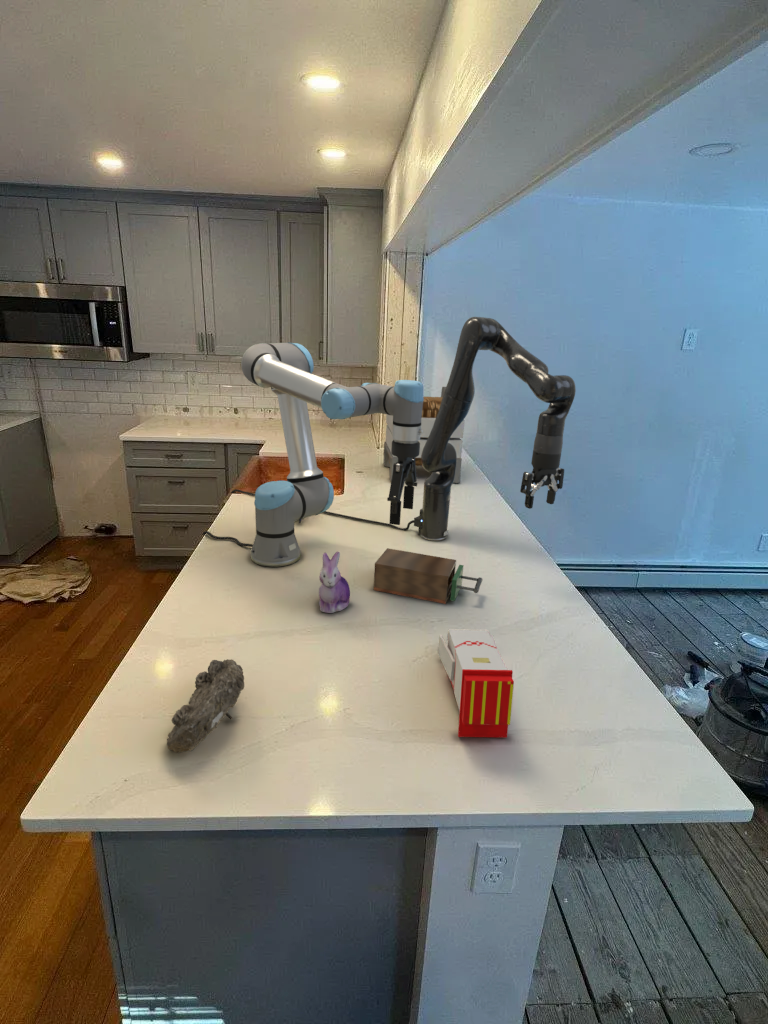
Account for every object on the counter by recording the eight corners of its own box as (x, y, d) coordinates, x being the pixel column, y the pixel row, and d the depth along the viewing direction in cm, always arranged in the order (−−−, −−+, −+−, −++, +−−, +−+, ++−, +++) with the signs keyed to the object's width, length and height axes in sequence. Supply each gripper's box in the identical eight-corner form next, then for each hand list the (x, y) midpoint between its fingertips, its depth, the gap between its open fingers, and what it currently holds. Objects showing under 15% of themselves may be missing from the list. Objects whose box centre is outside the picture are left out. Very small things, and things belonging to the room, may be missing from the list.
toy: (488, 613, 130) (523, 677, 101) (484, 667, 133) (517, 744, 104) (435, 612, 130) (455, 676, 101) (432, 666, 133) (451, 743, 103)
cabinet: (453, 585, 164) (456, 559, 161) (445, 603, 154) (448, 576, 151) (385, 573, 170) (387, 548, 167) (373, 590, 159) (374, 563, 157)
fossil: (192, 660, 117) (244, 628, 112) (224, 691, 120) (276, 661, 115) (142, 746, 98) (202, 712, 93) (182, 779, 101) (242, 748, 96)
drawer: (482, 588, 161) (484, 568, 159) (476, 605, 152) (478, 584, 150) (396, 573, 168) (398, 554, 166) (386, 588, 159) (387, 567, 156)
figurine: (324, 618, 144) (324, 564, 139) (310, 599, 152) (310, 548, 147) (358, 610, 148) (359, 558, 143) (342, 593, 156) (343, 543, 151)
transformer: (382, 463, 289) (386, 382, 275) (445, 464, 293) (451, 384, 279) (390, 482, 257) (394, 392, 243) (460, 483, 261) (468, 394, 247)
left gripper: (407, 452, 137) (402, 533, 145) (430, 433, 160) (425, 504, 167) (378, 449, 139) (374, 529, 147) (404, 430, 162) (400, 500, 169)
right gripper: (554, 444, 162) (546, 498, 167) (518, 449, 154) (511, 505, 160) (575, 450, 156) (566, 506, 161) (539, 455, 149) (531, 513, 154)
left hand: (401, 516), depth 157 cm, fingers open, 13 cm apart
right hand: (539, 505), depth 161 cm, fingers open, 8 cm apart
